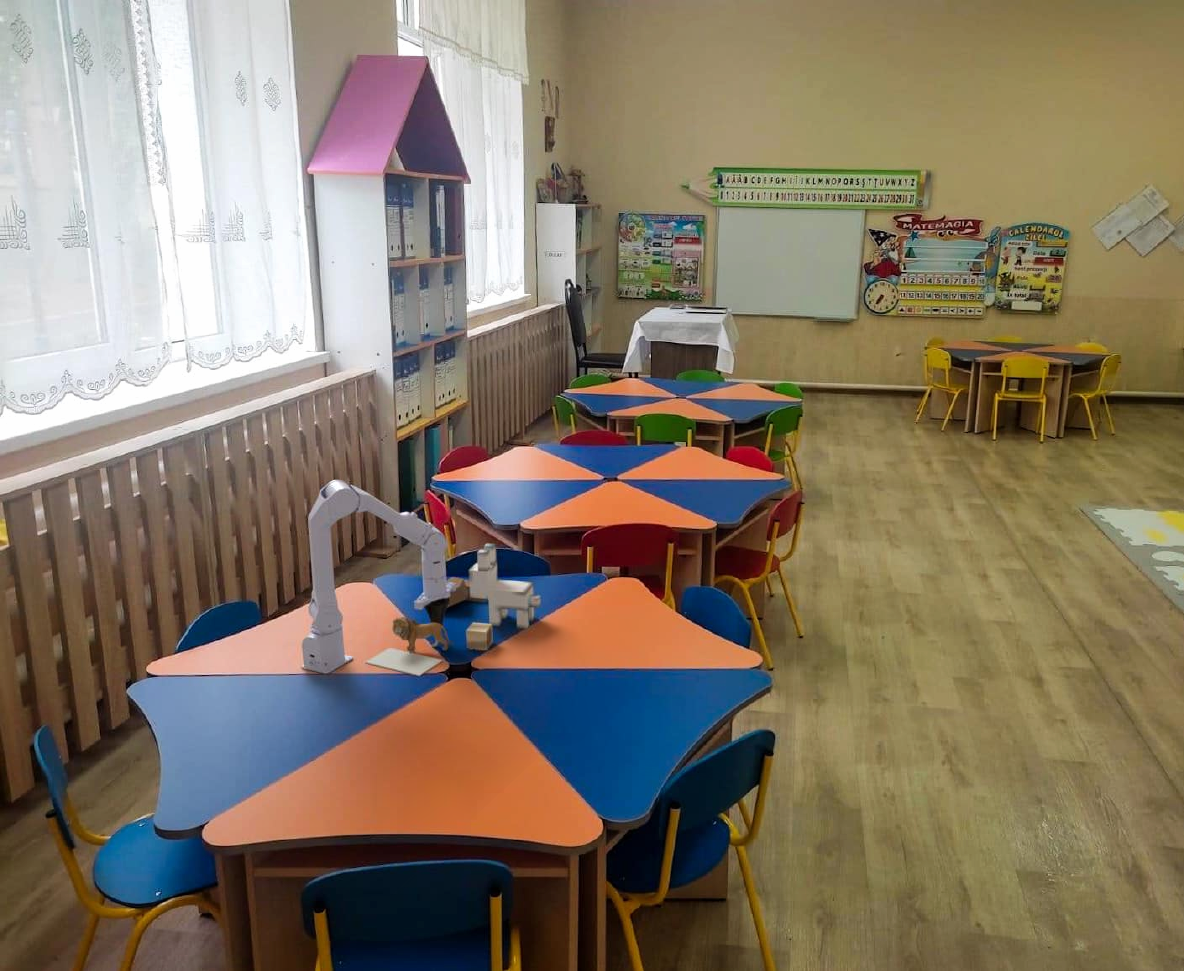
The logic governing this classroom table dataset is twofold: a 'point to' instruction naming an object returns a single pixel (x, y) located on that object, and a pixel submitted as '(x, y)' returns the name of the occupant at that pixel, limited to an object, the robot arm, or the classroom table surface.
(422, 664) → the felt mat
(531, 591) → the toy llama
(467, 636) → the tan cube
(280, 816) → the classroom table surface
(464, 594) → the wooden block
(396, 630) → the lion figurine
